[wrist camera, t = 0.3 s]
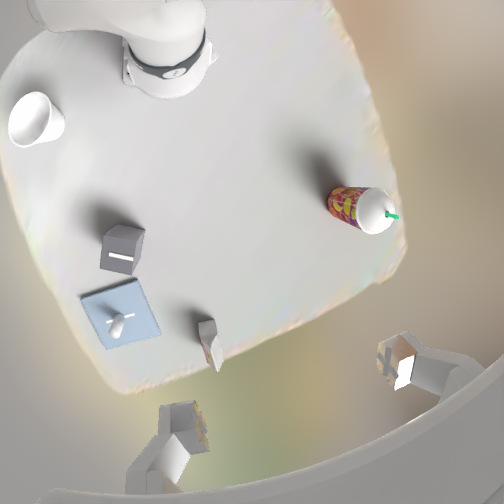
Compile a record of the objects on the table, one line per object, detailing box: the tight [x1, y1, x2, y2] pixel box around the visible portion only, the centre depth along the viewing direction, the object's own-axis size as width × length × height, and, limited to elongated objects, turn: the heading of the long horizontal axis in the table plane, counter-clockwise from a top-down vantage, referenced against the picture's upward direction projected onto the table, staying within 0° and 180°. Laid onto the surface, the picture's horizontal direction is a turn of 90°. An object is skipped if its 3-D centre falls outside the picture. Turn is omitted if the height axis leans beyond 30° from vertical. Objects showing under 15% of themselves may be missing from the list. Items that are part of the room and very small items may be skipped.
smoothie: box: [328, 187, 399, 234], centre depth 51 cm, size 8×8×20 cm
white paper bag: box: [198, 319, 224, 372], centre depth 58 cm, size 4×7×10 cm, turn 9°
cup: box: [8, 91, 65, 147], centre depth 38 cm, size 10×10×11 cm
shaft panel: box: [81, 280, 161, 350], centre depth 53 cm, size 13×14×8 cm
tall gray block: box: [100, 224, 145, 275], centre depth 48 cm, size 6×6×10 cm
